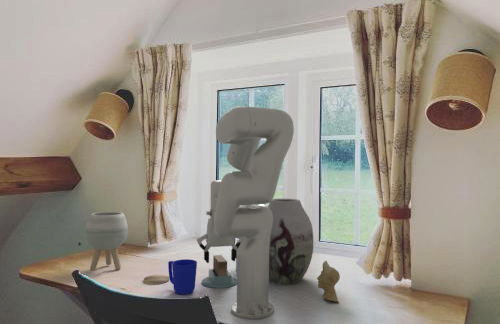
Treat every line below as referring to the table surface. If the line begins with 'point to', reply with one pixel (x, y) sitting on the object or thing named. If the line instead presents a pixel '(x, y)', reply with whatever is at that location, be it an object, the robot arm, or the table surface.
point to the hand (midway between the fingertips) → (220, 261)
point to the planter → (106, 236)
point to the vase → (289, 241)
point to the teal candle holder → (219, 280)
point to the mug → (183, 275)
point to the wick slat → (220, 265)
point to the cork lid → (156, 279)
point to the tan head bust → (328, 282)
